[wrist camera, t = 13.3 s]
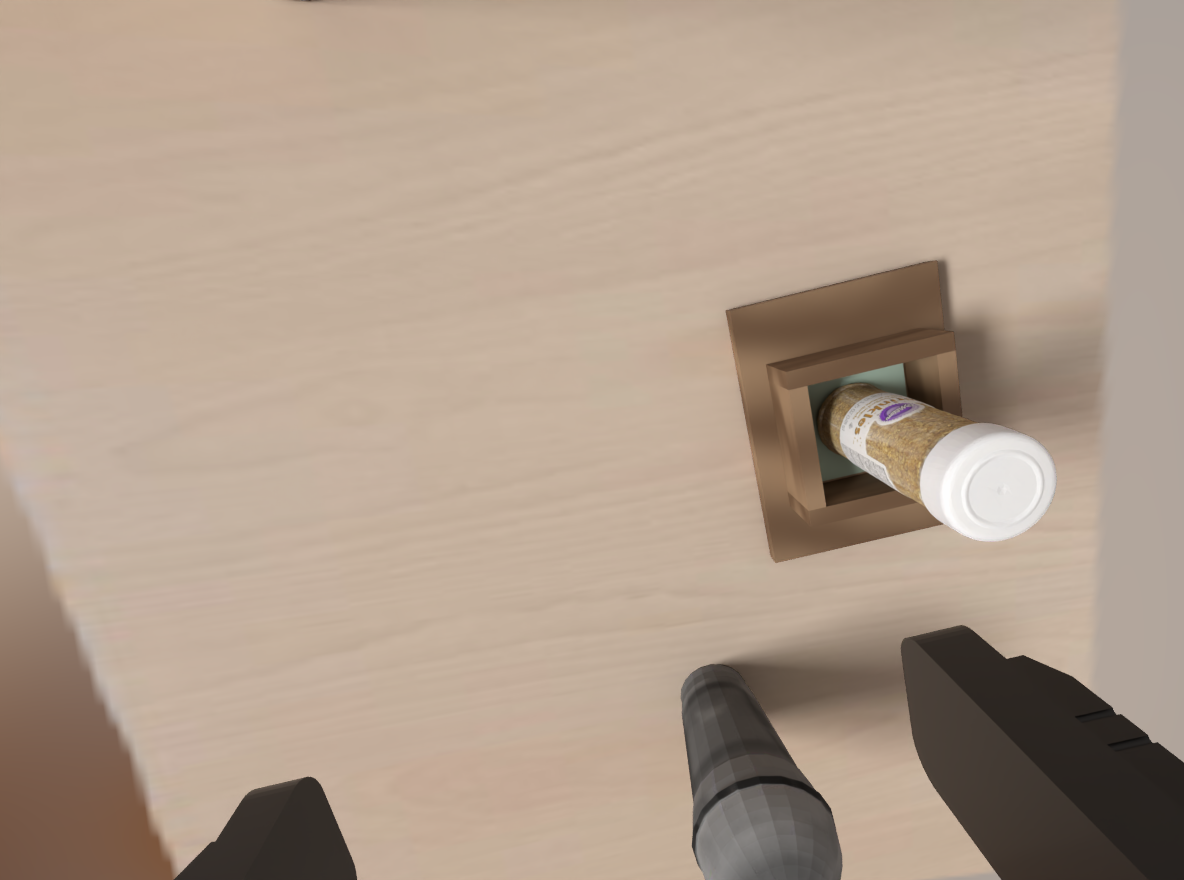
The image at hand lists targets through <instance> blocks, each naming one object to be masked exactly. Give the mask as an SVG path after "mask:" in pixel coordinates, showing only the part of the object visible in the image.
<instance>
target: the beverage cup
mask: <svg viewBox="0 0 1184 880" xmlns="http://www.w3.org/2000/svg"><path fill="white" fill-rule="evenodd" d="M681 701H682V719H683V726H684V734H685V742H686V749H687V757H688V764H689V772H690V780H691V787H692V795H693V803H694V804H693V838H692V848H693V851H694V854H695V857H696V861H697V864H698V866H699V868H700V869H701V871H702V872H703V875H704V878H705V880H840V879H841V872H842V853H841V848H840V844H839V840H838V836H837V832H836V827H835V823H834V819H833V815H832V811H831V808H830V807H829V805H828V804H827V803H826V801H825V800H824V798H823V797H822V796H821V794H820V793H819V792H817V791H816V790H815V789H814V788H813V786H812V785H811V783H810V782H809V781H808V780H807V778H806V777H805V776H804V775H803V773H802V772H801V771H800V769H798V768H797V766H796V764H795V763H794V761H793V759H792V758H791V756H790V754H789V753H788V751H787V749H786V748H785V746H784V744H783V743H782V741H781V739H780V738H779V736H778V734H777V733H776V731H775V729H774V728H773V726H772V724H771V723H770V721H769V719H768V718H767V716H766V714H765V713H764V711H763V709H762V708H761V706H760V704H759V703H758V701H757V699H756V698H755V696H754V694H753V693H752V692H751V690H750V689H749V687H748V686H747V685H746V684H745V682H744V680H743V679H742V677H741V676H740V674H739V673H738V672H736V671H735V670H733V669H732V668H730V667H727V666H724V665H708V666H704V667H701V668H699V669H697V670H696V671H694V672H693V673H691V674H690V676H689V677H688V678H687V679H686V680H685V682H684V684H683V687H682V689H681Z"/></svg>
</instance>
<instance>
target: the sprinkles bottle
mask: <svg viewBox="0 0 1184 880" xmlns="http://www.w3.org/2000/svg"><path fill="white" fill-rule="evenodd" d="M817 424H818V432H819V436H820V438H821V441H822V443H823V444H824V445H826V447H827V448H828V449H829V450H831V451H832V452H834V453H835V454H837V455H840V456H844V457H846V458H847V459H849V460H850V461H851V462H852V463H853V464H855V465H856V466H858V467H859V468H861V469H863V470H864V471H866V472H867V473H869V474H871V475H872V476H874V477H876V478H877V479H879V480H881V481H882V482H884V483H885V484H887V485H889V486H890V487H892V488H893V489H895V490H896V491H898V492H900V493H901V494H903V495H905V496H907V497H909V498H911V499H913V500H915V501H916V502H918V503H920V504H921V505H923V506H925V507H926V508H927V509H928V511H929V512H930V513H931V514H932V515H933V516H934V517H935V518H936V519H937V520H939V521H940V522H942V523H943V524H945V525H947V526H948V527H950V528H952V529H953V530H955V531H957V532H958V533H960V534H962V535H964V536H966V537H968V538H971V539H974V540H978V541H987V542H994V541H1002V540H1006V539H1010V538H1013V537H1015V536H1018V535H1019V534H1021V533H1023V532H1025V531H1026V530H1028V529H1029V528H1031V527H1032V526H1033V525H1034V524H1035V523H1036V522H1037V521H1039V520H1040V518H1041V517H1042V516H1043V515H1044V514H1045V512H1046V511H1047V509H1048V507H1049V506H1050V504H1051V502H1052V499H1053V497H1054V494H1055V489H1056V481H1057V476H1056V468H1055V464H1054V462H1053V459H1052V457H1051V455H1050V454H1049V452H1048V451H1047V449H1046V448H1045V447H1044V446H1043V445H1042V444H1041V443H1040V442H1038V441H1037V440H1035V439H1034V438H1032V437H1030V436H1028V435H1026V434H1023V433H1021V432H1018V431H1015V430H1013V429H1010V428H1007V427H1004V426H1001V425H997V424H992V423H977V422H973V421H970V420H968V419H966V418H962V417H960V416H956V415H953V414H950V413H948V412H945V411H941V410H939V409H936V408H934V407H932V406H930V405H928V404H925V403H922V402H919V401H916V400H914V399H911V398H908V397H905V396H902V395H898V394H894V393H888V392H885V391H883V390H881V389H878V388H877V387H875V386H874V385H871V384H868V383H854V384H848V385H844V386H841V387H840V388H837V389H835V390H834V391H833V392H832V393H831V394H830V395H829V396H828V397H827V398H826V399H825V401H824V403H823V404H822V407H821V408H820V410H819V415H818V418H817Z"/></svg>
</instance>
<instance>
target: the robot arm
mask: <svg viewBox="0 0 1184 880" xmlns="http://www.w3.org/2000/svg"><path fill="white" fill-rule="evenodd" d="M302 1H304V0H302ZM901 655H902V663H903V670H904V677H905V684H906V692H907V699H908V706H909V713H910V721H911V728H912V735H913V740H914V744H915V747H916V750H917V753H918V756H919V759H920V761H921V763H922V766H923V768H924V770H925V772H926V774H927V776H928V778H929V780H930V781H931V783H932V785H933V786H934V788H935V789H936V791H937V792H938V794H939V795H940V796H941V798H942V799H943V800H944V802H945V803H946V804H947V806H948V807H949V809H950V810H951V811H952V813H953V814H954V815H955V817H956V818H957V820H958V821H959V822H960V824H961V825H962V826H963V828H964V829H965V831H966V832H967V833H968V835H969V836H970V837H971V839H972V840H973V841H974V843H975V844H976V846H977V847H978V848H979V850H980V851H981V852H982V854H983V855H984V857H985V858H986V859H987V861H988V862H989V863H990V865H991V866H992V868H993V869H994V870H995V872H996V873H997V874H998V876H999V877H1000V878H1001V880H1184V763H1183V762H1182V761H1181V760H1180V759H1178V758H1177V757H1176V756H1175V755H1173V754H1172V753H1170V752H1169V751H1168V750H1167V749H1165V748H1164V747H1163V746H1161V745H1160V744H1159V743H1158V742H1157V743H1152V742H1151V740H1150V739H1149V737H1148V735H1147V734H1146V733H1145V732H1143V731H1142V730H1141V729H1140V728H1138V727H1137V726H1136V725H1134V724H1133V723H1132V722H1130V721H1129V720H1128V719H1127V718H1125V717H1124V716H1123V715H1121V714H1120V715H1116V714H1115V712H1114V710H1113V708H1112V707H1111V706H1110V705H1108V704H1107V703H1106V702H1105V701H1103V700H1102V699H1101V698H1099V697H1098V696H1097V695H1096V694H1094V693H1093V692H1092V691H1090V690H1089V689H1088V688H1087V687H1085V686H1084V685H1083V684H1081V683H1080V682H1079V681H1077V680H1076V679H1075V678H1074V677H1072V676H1070V675H1068V674H1065V673H1063V672H1061V671H1058V670H1056V669H1054V668H1051V667H1049V666H1047V665H1045V664H1042V663H1040V662H1038V661H1035V660H1033V659H1031V658H1029V657H1026V656H1024V655H1022V656H1018V657H1013V658H1009V659H1006V658H1005V657H1003V656H1002V655H1001V654H1000V653H999V652H998V651H996V650H995V649H994V648H993V647H992V646H990V645H989V644H988V643H987V642H986V641H985V640H983V639H982V638H981V637H980V636H979V635H978V634H976V633H975V632H974V631H973V630H971V629H970V628H968V627H966V626H963V625H960V626H956V627H951V628H947V629H943V630H938V631H934V632H930V633H926V634H921V635H917V636H913V637H909V638H905V639H904V640H903V642H902V645H901ZM174 880H357V875H356V870H355V865H354V862H353V860H352V857H351V855H350V853H349V850H348V848H347V845H346V843H345V841H344V838H343V836H342V834H341V831H340V829H339V826H338V824H337V822H336V819H335V817H334V815H333V812H332V810H331V807H330V805H329V803H328V800H327V798H326V796H325V793H324V791H323V789H322V787H321V785H320V783H319V782H318V781H317V780H316V779H315V778H312V777H305V778H301V779H296V780H292V781H288V782H284V783H279V784H275V785H271V786H267V787H262V788H258V789H254V790H252V791H251V792H249V793H248V794H247V795H246V796H245V797H244V798H243V800H242V801H241V803H240V804H239V806H238V807H237V809H236V810H235V812H234V813H233V815H232V817H231V818H230V820H229V821H228V823H227V824H226V826H225V828H224V829H223V831H222V832H221V834H220V835H219V837H218V838H217V840H216V841H215V842H211V843H210V844H209V845H208V846H207V847H206V848H205V849H204V850H203V851H202V852H201V853H200V854H199V855H198V856H197V857H196V858H195V859H194V860H193V861H192V862H191V863H190V864H189V865H188V866H187V867H186V868H185V869H184V870H183V871H182V872H181V873H180V874H179V875H178V876H177V877H176V878H175V879H174Z"/></svg>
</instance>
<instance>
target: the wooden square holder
mask: <svg viewBox="0 0 1184 880" xmlns="http://www.w3.org/2000/svg"><path fill="white" fill-rule="evenodd" d="M726 315H727V320H728V326H729V331H730V337H731V342H732V348H733V353H734V359H735V364H736V369H737V375H738V380H739V386H740V391H741V397H742V402H743V408H744V413H745V418H746V424H747V429H748V435H749V440H750V446H751V451H752V457H753V462H754V467H755V473H756V478H757V484H758V489H759V495H760V500H761V506H762V511H763V516H764V522H765V527H766V533H767V538H768V544H769V549H770V555H771V557H772V559H773V560H774V561H775V563H778V562H782V561H787V560H791V559H795V558H799V557H804V556H808V555H812V554H817V553H821V552H825V551H830V550H834V549H838V548H843V547H847V546H851V545H855V544H860V543H864V542H868V541H873V540H877V539H881V538H886V537H890V536H894V535H899V534H903V533H907V532H911V531H916V530H920V529H924V528H929V527H933V526H937V525H942V524H943V523H942V522H940V521H939V520H937V519H936V518H935V517H934V516H933V515H932V514H931V513H930V512H929V511H928V509H927V508H926V507H925V506H923V505H921V504H920V503H918V502H916V501H915V500H913V499H911V498H909V497H907V496H905V495H903V494H901V493H900V492H898V491H896V490H895V489H893V488H892V487H890V486H889V485H887V484H885V483H884V482H882V481H881V480H879V479H877V478H876V477H874V476H872V475H871V474H869V473H867V472H866V471H864V470H863V469H861V468H859V467H858V466H856V465H855V464H853V463H852V462H851V461H850V460H849V459H847V458H846V457H844V456H840V455H837V454H835V453H834V452H832V451H831V450H829V449H828V448H827V447H826V445H824V444H823V443H822V441H821V438H820V436H819V432H818V424H817V418H818V415H819V410H820V408H821V407H822V404H823V403H824V401H825V399H826V398H827V397H828V396H829V395H830V394H831V393H832V392H833V391H834V390H835V389H837V388H840V387H841V386H844V385H848V384H854V383H868V384H871V385H874V386H875V387H877V388H878V389H881V390H883V391H885V392H888V393H894V394H898V395H902V396H905V397H908V398H911V399H914V400H916V401H919V402H922V403H925V404H928V405H930V406H932V407H934V408H936V409H939V410H941V411H945V412H948V413H950V414H953V415H956V416H960V417H962V409H961V399H960V388H959V378H958V368H957V358H956V348H955V338H954V332H952V331H944V322H943V312H942V303H941V293H940V283H939V273H938V263H937V261H928V262H923V263H919V264H915V265H911V266H907V267H903V268H899V269H895V270H891V271H886V272H882V273H878V274H874V275H870V276H866V277H862V278H858V279H854V280H850V281H845V282H841V283H837V284H833V285H829V286H825V287H821V288H817V289H813V290H808V291H804V292H800V293H796V294H792V295H788V296H784V297H780V298H776V299H771V300H767V301H763V302H759V303H755V304H751V305H747V306H743V307H739V308H734V309H730V310H726Z"/></svg>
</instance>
